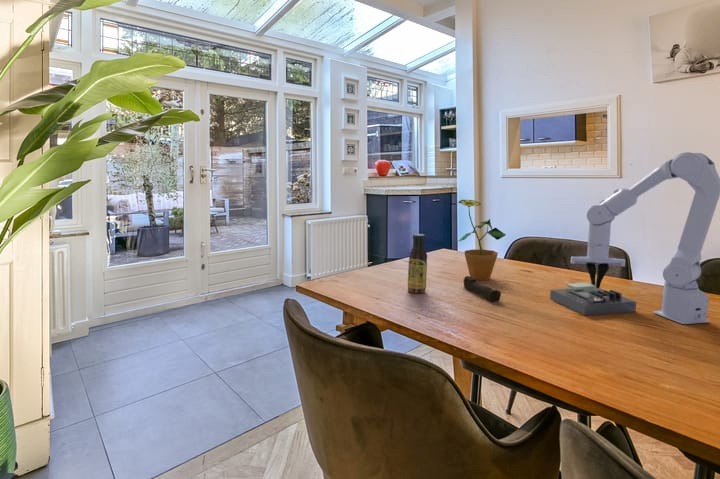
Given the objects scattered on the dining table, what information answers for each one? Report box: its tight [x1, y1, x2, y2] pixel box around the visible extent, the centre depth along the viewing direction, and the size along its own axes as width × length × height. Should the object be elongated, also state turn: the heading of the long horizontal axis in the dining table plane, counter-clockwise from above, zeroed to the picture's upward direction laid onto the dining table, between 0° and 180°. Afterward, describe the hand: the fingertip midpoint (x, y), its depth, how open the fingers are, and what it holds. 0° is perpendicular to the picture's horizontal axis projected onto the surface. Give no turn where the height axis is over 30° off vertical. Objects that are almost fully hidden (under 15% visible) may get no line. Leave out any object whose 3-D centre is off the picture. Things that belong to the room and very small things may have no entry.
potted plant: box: [457, 199, 507, 281], centre depth 156 cm, size 18×19×30 cm
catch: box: [565, 282, 596, 293], centre depth 128 cm, size 4×7×2 cm, turn 99°
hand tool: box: [463, 275, 502, 303], centre depth 138 cm, size 19×4×5 cm, turn 14°
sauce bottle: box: [407, 233, 428, 294], centre depth 140 cm, size 6×6×20 cm
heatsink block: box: [549, 287, 637, 316], centre depth 124 cm, size 16×16×4 cm
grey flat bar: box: [565, 287, 604, 302], centre depth 123 cm, size 12×3×1 cm, turn 9°
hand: (595, 287), depth 129 cm, fingers closed
